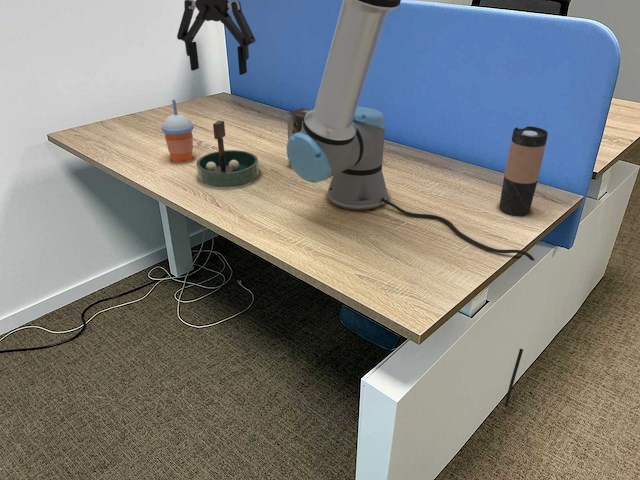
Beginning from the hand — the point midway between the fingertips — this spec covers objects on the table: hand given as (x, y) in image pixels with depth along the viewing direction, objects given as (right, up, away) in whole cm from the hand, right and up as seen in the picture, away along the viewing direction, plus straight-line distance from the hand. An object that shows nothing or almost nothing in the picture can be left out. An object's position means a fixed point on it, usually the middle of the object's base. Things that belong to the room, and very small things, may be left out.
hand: (218, 71), depth 132 cm
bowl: (0, -25, +15) cm, 29 cm away
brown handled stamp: (-1, -25, +13) cm, 28 cm away
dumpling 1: (-6, -23, +16) cm, 29 cm away
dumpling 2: (+1, -20, +17) cm, 27 cm away
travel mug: (+74, -35, -3) cm, 82 cm away
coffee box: (+22, -22, +20) cm, 37 cm away
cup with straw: (-16, -19, +25) cm, 35 cm away
